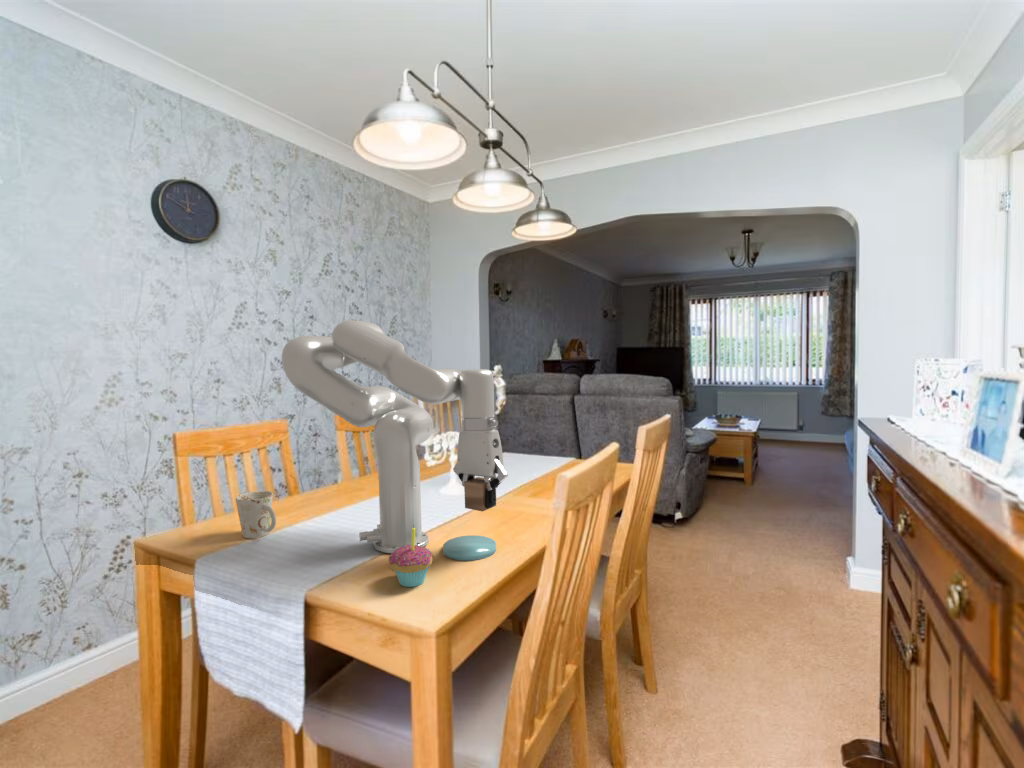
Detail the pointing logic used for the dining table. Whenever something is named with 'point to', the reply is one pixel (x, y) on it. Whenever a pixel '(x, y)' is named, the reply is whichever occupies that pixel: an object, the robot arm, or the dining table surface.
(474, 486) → the walnut block
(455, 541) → the teal dish
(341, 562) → the dining table surface
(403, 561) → the cupcake
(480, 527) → the dining table surface
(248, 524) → the mug
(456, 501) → the dining table surface
